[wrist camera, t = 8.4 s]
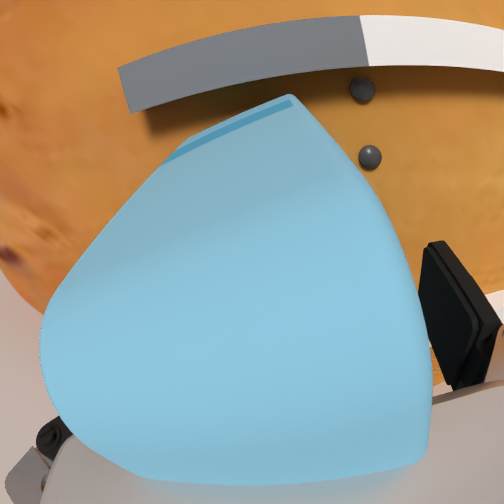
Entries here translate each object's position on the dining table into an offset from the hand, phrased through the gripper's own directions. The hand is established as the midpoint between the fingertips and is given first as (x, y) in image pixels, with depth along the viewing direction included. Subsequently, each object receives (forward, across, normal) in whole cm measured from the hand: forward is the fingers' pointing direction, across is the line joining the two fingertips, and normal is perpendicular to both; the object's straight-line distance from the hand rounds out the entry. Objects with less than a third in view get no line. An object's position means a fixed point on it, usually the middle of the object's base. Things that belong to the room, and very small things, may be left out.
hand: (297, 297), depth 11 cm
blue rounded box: (+5, 0, 0) cm, 5 cm away
